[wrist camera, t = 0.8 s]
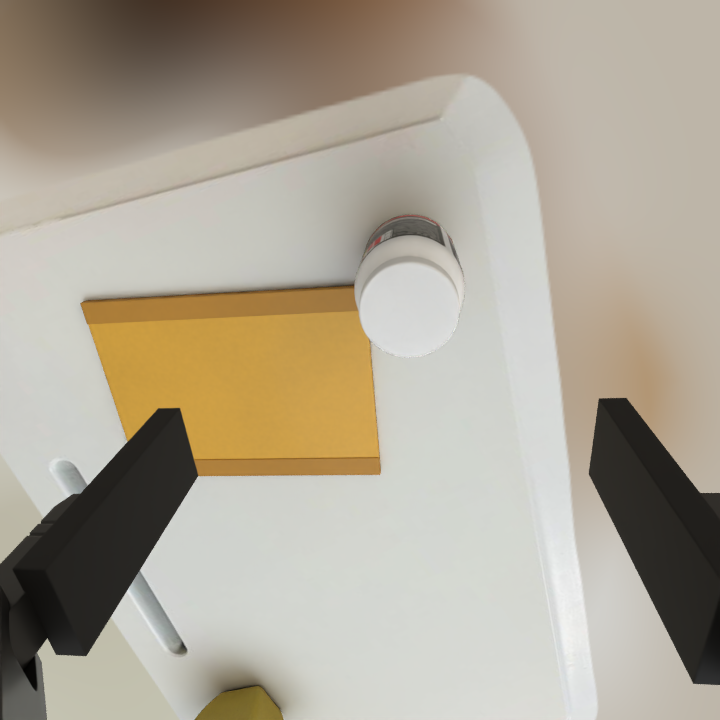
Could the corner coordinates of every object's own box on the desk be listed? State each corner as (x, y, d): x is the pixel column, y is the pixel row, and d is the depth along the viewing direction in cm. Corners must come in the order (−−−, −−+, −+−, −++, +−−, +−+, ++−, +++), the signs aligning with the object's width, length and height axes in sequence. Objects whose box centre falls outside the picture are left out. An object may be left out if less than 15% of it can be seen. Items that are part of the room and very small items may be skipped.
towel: (85, 300, 35) (79, 303, 35) (365, 284, 33) (364, 287, 32) (141, 472, 41) (138, 476, 41) (380, 470, 39) (380, 475, 38)
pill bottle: (347, 264, 32) (321, 316, 23) (405, 193, 30) (400, 221, 21) (414, 318, 33) (414, 388, 24) (474, 254, 31) (498, 305, 22)
